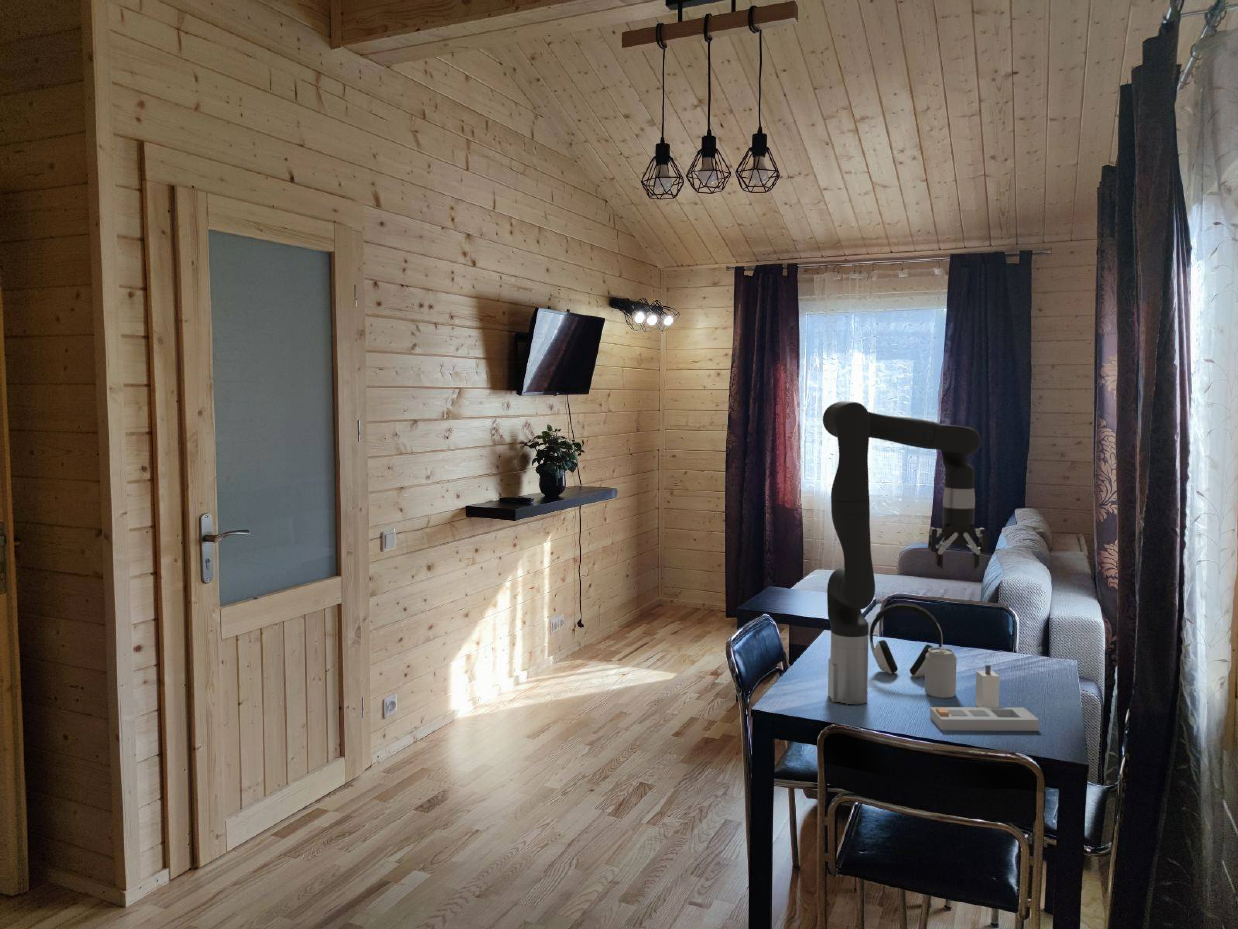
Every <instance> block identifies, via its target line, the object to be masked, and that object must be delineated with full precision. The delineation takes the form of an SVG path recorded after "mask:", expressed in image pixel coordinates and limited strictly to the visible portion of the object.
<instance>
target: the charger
mask: <svg viewBox="0 0 1238 929" xmlns="http://www.w3.org/2000/svg"><path fill="white" fill-rule="evenodd" d="M991 669H992V667H991V664H985V668H984V670H976V672H975V673H976V675H975V676H976V677H975V706H976V707H999V704H1000V703H999V702H1000V701H999V699H1000V675H999V674H998V673H996V672H995V671H993V670H991Z"/></svg>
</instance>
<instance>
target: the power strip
mask: <svg viewBox="0 0 1238 929" xmlns="http://www.w3.org/2000/svg"><path fill="white" fill-rule="evenodd" d="M929 719H930V720H931V721H932V722H933V723H934V724H935V726H936V727H937V728H938V729H939V730H940V731H986V732H987V731H991V732H992V731H994V732H995V731H997V732H998V731H1002V732H1003V731H1005V732H1007V731H1008V732H1009V731H1010V732H1011V731H1015V732H1017V731H1018V732H1019V731H1020V732H1021V731H1023V732H1024V731H1027V732H1028V731H1032V732H1033V731H1034V732H1038V731H1039V728H1040V727H1039V726H1040V719H1039V718H1037V717H1036V716H1035V715H1033V714H1032V713H1031V712H1030V711H1029V710H1027V708H1025V707H1010V706H1009V707H977V706H976V707H975V706H973V707H971V706H967V707H966V706H965V707H964V706H962V707H961V706H959V707H957V706H954V707H953V706H951V707H950V706H949V707H947V706H946V707H945V706H944V707H943V706H941V707H939V706H938V707H937V706H933V707H931V706H930V707H929Z"/></svg>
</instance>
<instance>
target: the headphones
mask: <svg viewBox="0 0 1238 929" xmlns="http://www.w3.org/2000/svg"><path fill="white" fill-rule="evenodd" d="M901 611H904V612H912V613H915V614H917V615H919V616H921V617H923V618H924V619H926V620H927V621H928V622H929V623H930V624H931V625H932V627H934V629H935V631H936V632H935V633H936V634H937V637H938V647H943V642H944V641H943V633H942V628H941V627H940V624H939V623H938V620H937V619H936V617H935V616H934V615H933V614H932V613H930V612H929V611H928V610H927V609H926V608H924V607H921V606H920V605H918V604H915V603H909V602H899V603H892V604H891V605H888V606H886V607H885V608H882V609H880V611H878V613H876V614H875V616H874V617H875V618H873V620H872V622H871V624H870V626H869V633H868V634H869V635H868V639H869V643H870V650H871V652H872V655H873V657H874V659H875V662H876V664H877V666H878V668H879V670H881V672H885V673H889V674H890V675H893V674H894V675H895V673H897V672H898V670H899V669H898V665H897V662H896V660H895V659H894V655H893V654H892V651H891V649H890V646H889V644H888V642H887V640H885V639H881V640H878V641H877V642H876V645H875V644H874V631H875V628H876V627H877V625H878V623H879V622H880V621H881V619H882V618H884V617H885V616H888V615H890V614H892V613H895V612H901ZM932 647H934V645H931V644H928V643H926V644H925V645H924V647H923V648H922V651H921V652H920V653H919V655H918V657H917V659H916V660H915V661H914V663H913V664H912V665H911V666H910V669H909V673H910V674H911V676H913V677H914V678H918V677H925V662H926V654H927V653H928V652H929V651H928V649H929V648H932Z"/></svg>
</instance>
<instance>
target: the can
mask: <svg viewBox="0 0 1238 929" xmlns="http://www.w3.org/2000/svg"><path fill="white" fill-rule="evenodd" d="M928 651H929V652H928V653H927V654H926V662H925V676H924V692H925V693H926V694H927V695H928V696H930V697H933V698H938V699H951V698H953V697H955V696H956V695H957V694H956V692H957V663H958V662H957V659H958V658H957V656H956V655H955V650H953V649H952V648H949V647H943V646H942V647H939V646H933V647H932V648H929V649H928Z"/></svg>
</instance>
